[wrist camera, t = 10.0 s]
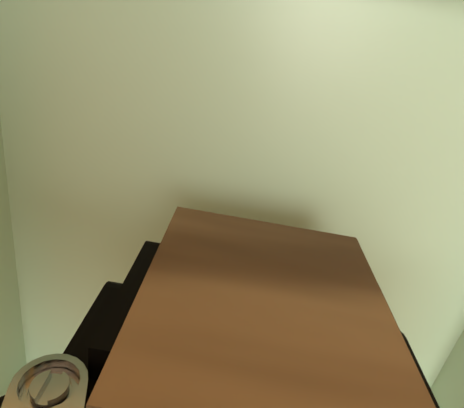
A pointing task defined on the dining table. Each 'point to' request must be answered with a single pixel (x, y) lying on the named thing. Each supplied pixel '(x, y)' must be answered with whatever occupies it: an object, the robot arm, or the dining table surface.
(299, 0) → the pale green bin
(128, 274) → the robot arm
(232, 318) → the walnut block
